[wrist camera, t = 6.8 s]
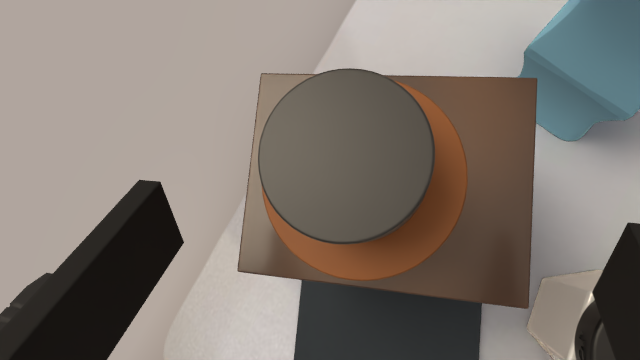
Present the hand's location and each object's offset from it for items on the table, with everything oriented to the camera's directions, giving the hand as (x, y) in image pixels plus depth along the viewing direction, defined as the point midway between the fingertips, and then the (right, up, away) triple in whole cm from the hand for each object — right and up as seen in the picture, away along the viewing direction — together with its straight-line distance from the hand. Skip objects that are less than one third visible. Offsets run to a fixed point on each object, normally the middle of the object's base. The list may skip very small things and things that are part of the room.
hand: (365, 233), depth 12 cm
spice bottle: (+1, +1, +7) cm, 7 cm away
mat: (+4, -14, +25) cm, 29 cm away
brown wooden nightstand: (+6, -1, +26) cm, 27 cm away
